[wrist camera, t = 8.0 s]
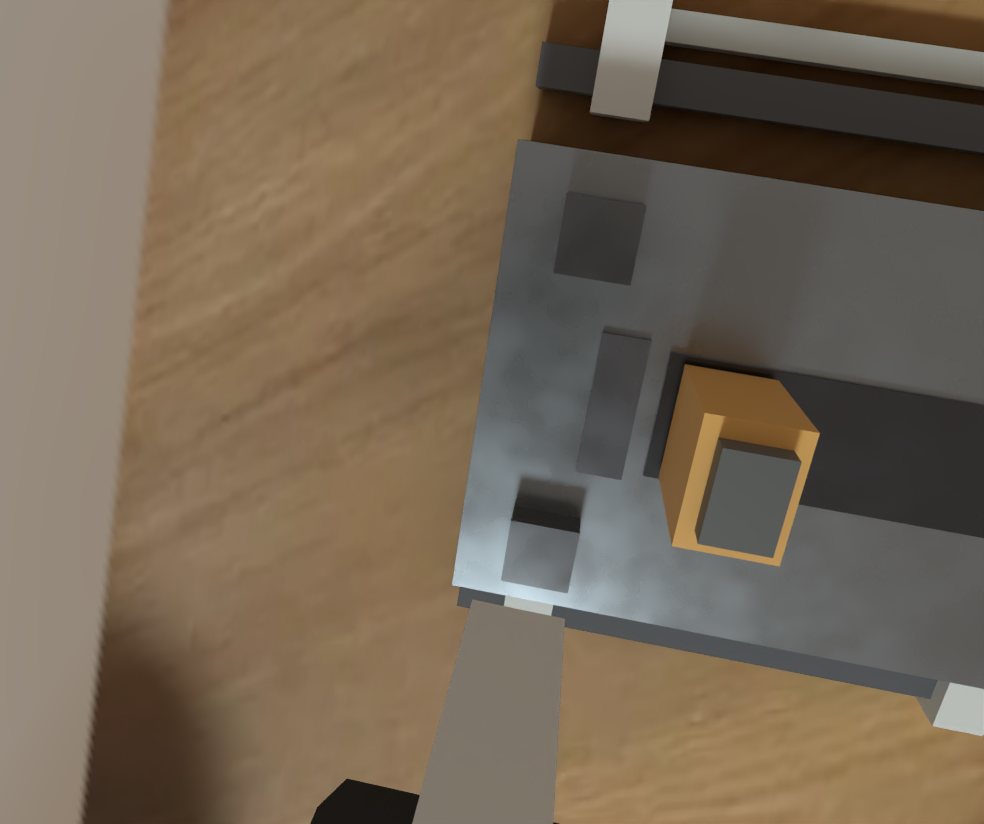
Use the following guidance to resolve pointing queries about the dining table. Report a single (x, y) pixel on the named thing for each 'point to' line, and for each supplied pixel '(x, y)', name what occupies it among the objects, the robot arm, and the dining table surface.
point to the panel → (745, 350)
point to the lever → (734, 465)
